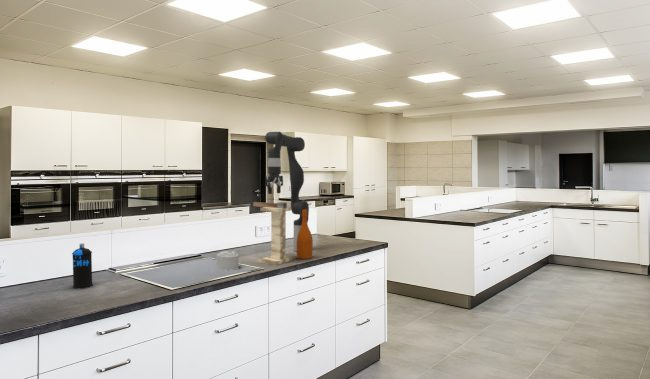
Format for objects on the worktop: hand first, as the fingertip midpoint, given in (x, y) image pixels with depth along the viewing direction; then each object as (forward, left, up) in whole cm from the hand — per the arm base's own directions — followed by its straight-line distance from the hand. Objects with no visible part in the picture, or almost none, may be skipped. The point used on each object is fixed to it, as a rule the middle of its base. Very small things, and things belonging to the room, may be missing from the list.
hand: (274, 193), depth 262 cm
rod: (0, -4, -8) cm, 9 cm away
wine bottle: (-17, +10, -40) cm, 45 cm away
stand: (0, +1, -40) cm, 40 cm away
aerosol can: (+90, -45, -40) cm, 108 cm away
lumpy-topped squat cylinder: (+26, -13, -40) cm, 50 cm away
